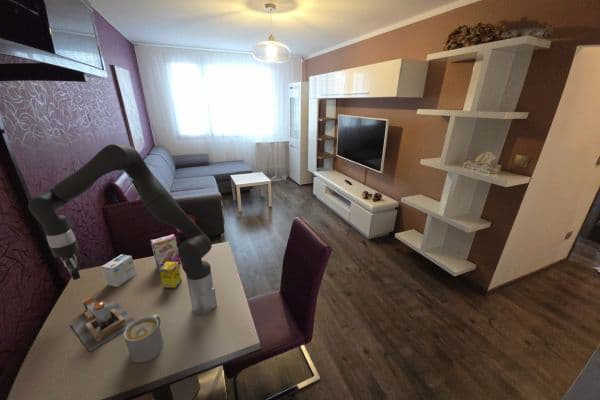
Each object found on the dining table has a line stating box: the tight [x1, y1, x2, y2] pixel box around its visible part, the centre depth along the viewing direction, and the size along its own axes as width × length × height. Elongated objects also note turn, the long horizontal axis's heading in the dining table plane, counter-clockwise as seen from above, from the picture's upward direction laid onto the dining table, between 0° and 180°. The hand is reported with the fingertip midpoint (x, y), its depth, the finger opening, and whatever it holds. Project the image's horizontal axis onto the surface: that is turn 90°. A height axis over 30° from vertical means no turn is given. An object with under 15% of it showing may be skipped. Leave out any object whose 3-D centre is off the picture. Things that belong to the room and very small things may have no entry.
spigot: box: [93, 300, 114, 331], centre depth 93 cm, size 4×4×11 cm
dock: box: [70, 300, 136, 352], centre depth 96 cm, size 20×15×4 cm
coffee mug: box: [123, 314, 164, 364], centre depth 87 cm, size 13×10×10 cm
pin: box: [81, 295, 96, 319], centre depth 100 cm, size 11×3×4 cm, turn 56°
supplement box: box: [159, 262, 182, 290], centre depth 116 cm, size 6×6×11 cm
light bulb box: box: [101, 254, 137, 288], centre depth 119 cm, size 11×7×11 cm, turn 165°
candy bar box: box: [150, 233, 182, 272], centre depth 129 cm, size 11×5×16 cm, turn 130°
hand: (76, 278), depth 102 cm, fingers closed
